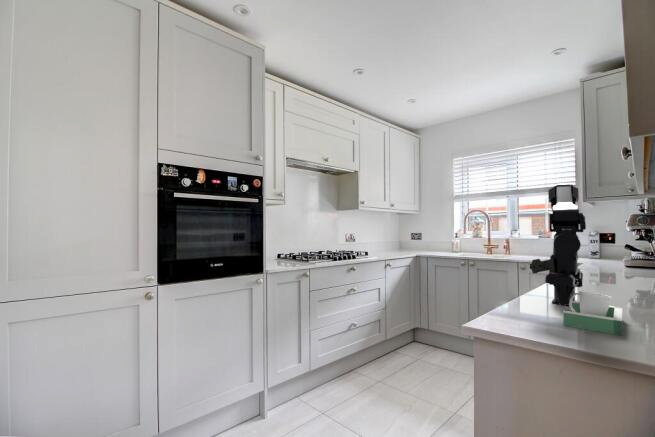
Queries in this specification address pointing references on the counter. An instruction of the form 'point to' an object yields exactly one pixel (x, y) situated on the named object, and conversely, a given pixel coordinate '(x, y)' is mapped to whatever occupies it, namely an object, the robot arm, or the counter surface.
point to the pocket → (595, 320)
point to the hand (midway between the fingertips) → (562, 305)
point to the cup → (592, 303)
